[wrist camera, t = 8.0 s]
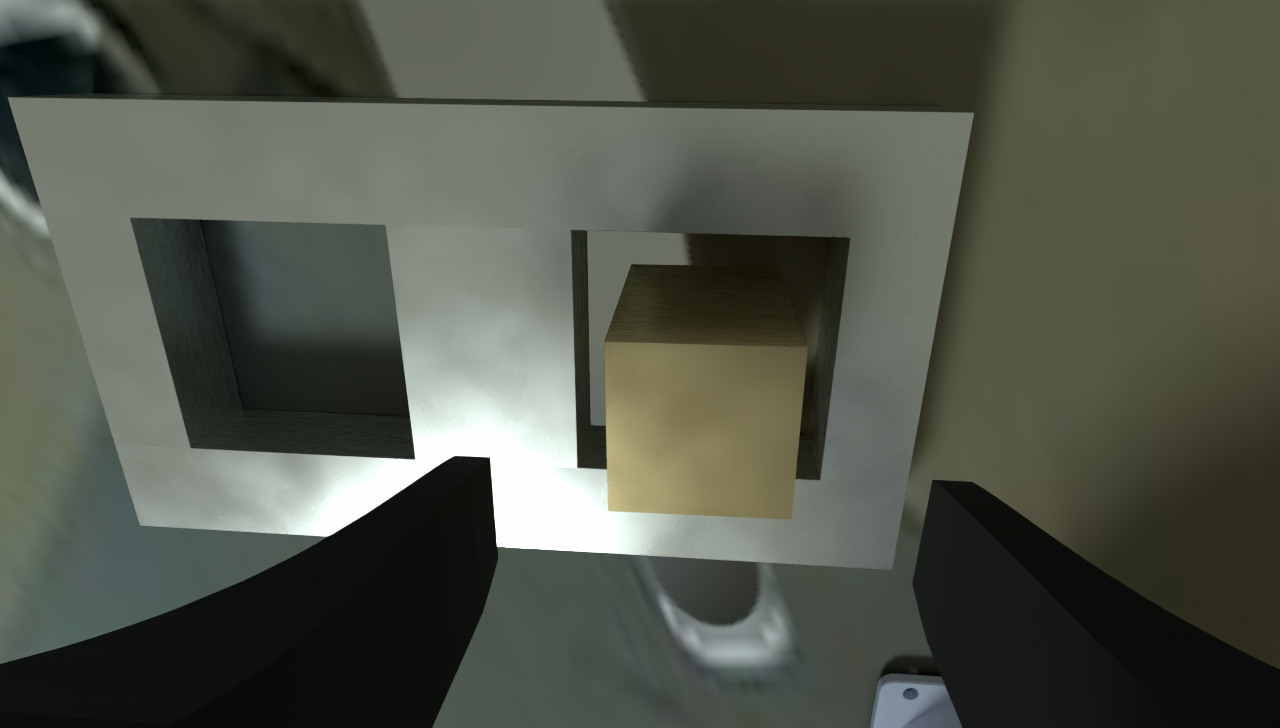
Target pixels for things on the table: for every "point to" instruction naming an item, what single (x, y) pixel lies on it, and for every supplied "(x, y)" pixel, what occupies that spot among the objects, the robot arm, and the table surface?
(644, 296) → the brass block
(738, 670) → the table surface
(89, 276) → the grey flat rectangular plate
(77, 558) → the table surface
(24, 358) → the table surface
